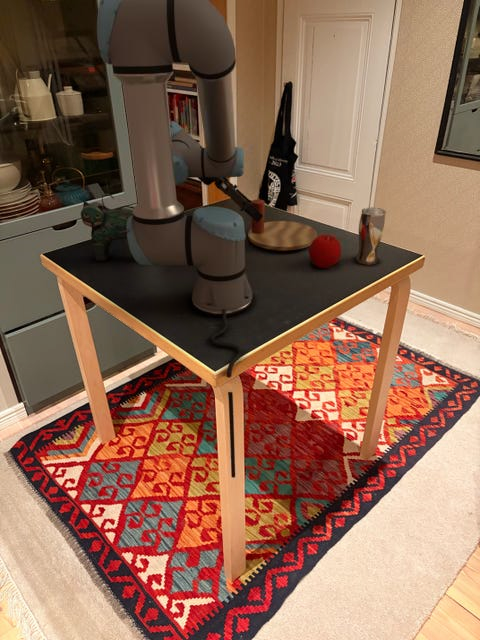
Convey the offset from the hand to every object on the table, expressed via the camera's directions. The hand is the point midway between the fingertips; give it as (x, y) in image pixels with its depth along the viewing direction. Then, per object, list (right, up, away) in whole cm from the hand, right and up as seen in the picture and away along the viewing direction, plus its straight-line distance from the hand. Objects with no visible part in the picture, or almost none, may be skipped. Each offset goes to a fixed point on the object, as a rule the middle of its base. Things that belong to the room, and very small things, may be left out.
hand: (254, 211), depth 147 cm
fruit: (+20, -18, -12) cm, 30 cm away
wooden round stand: (+9, -7, +3) cm, 12 cm away
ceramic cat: (-39, -16, -7) cm, 43 cm away
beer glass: (+33, -17, -10) cm, 38 cm away
